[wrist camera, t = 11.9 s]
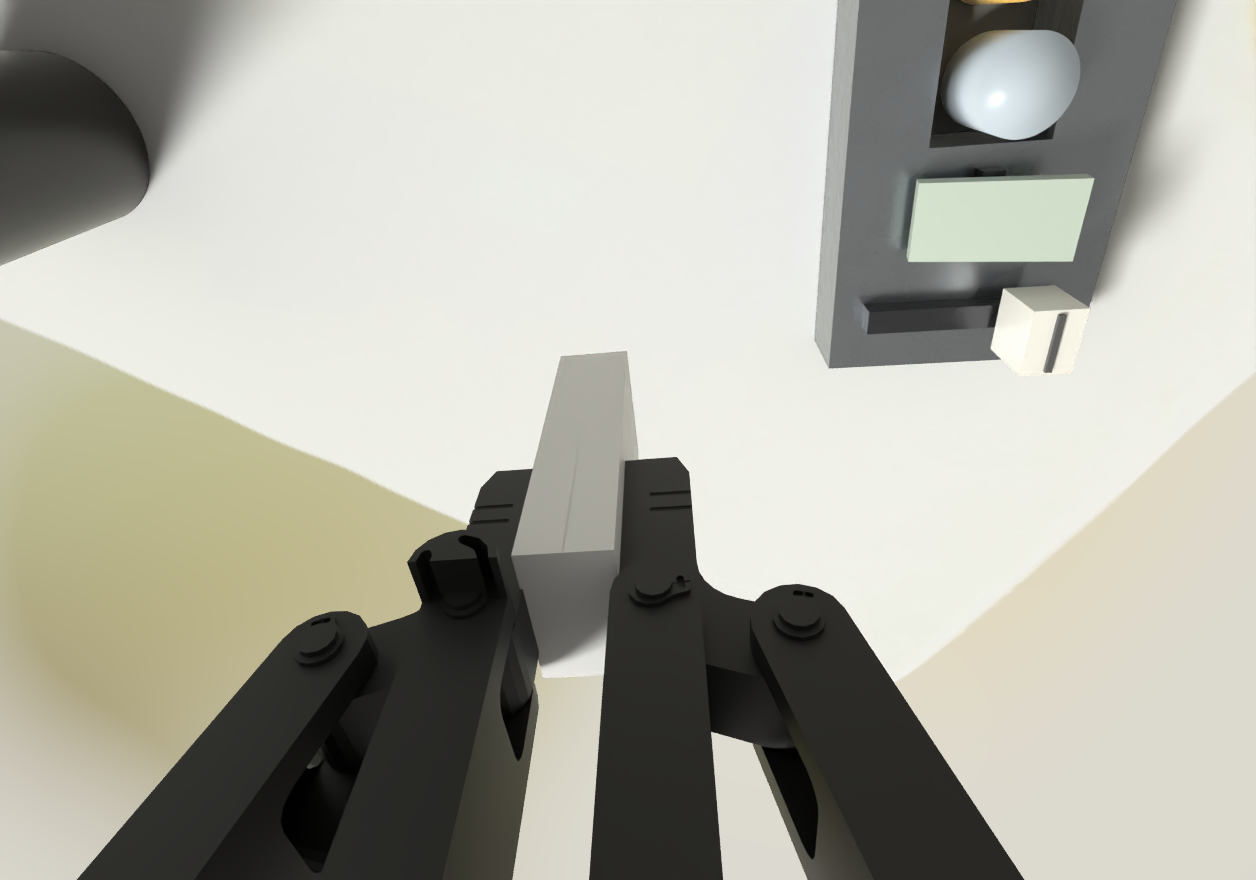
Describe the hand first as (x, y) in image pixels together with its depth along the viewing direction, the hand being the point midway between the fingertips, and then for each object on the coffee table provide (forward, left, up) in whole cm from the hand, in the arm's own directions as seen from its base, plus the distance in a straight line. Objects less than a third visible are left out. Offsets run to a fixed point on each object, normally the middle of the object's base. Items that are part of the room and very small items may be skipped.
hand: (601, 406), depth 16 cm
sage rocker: (+1, +17, -19) cm, 25 cm away
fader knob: (+6, +19, -19) cm, 28 cm away
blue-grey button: (-4, +17, -22) cm, 28 cm away
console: (-2, +17, -25) cm, 30 cm away
